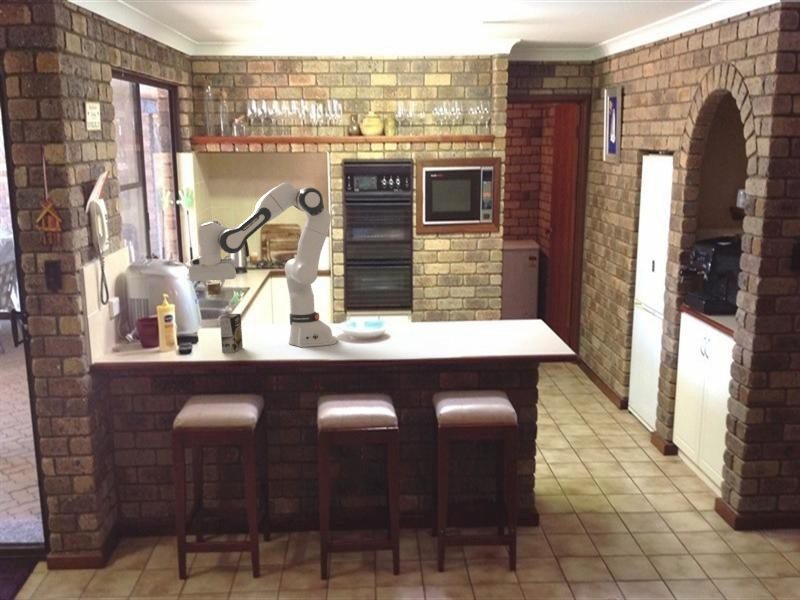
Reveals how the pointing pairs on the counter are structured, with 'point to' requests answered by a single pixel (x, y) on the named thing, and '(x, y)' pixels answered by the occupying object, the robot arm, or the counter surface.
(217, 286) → the walnut block
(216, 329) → the counter surface
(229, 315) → the coffee box
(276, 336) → the counter surface
